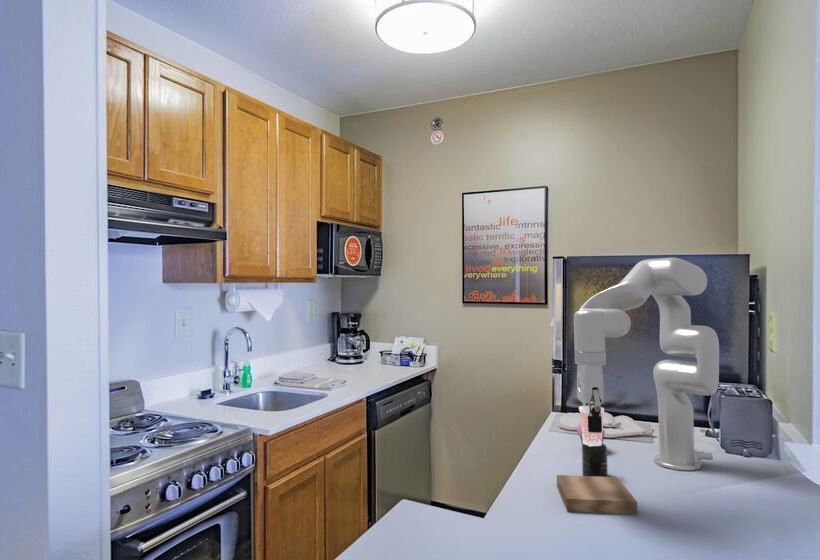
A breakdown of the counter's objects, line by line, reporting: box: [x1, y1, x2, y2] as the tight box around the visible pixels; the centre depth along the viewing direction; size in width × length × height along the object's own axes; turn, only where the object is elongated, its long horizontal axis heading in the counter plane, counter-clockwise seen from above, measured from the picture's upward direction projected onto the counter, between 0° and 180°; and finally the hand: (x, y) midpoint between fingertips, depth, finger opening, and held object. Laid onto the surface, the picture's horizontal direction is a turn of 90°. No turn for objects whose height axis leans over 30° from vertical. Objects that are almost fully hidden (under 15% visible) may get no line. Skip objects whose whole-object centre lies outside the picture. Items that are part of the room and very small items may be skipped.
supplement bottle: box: [581, 434, 609, 477], centre depth 142 cm, size 7×7×12 cm
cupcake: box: [576, 422, 606, 445], centre depth 165 cm, size 9×9×10 cm
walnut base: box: [556, 474, 638, 515], centre depth 126 cm, size 16×16×3 cm
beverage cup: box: [578, 402, 605, 446], centre depth 126 cm, size 6×6×14 cm
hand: (591, 428), depth 126 cm, fingers closed on beverage cup, 6 cm apart
